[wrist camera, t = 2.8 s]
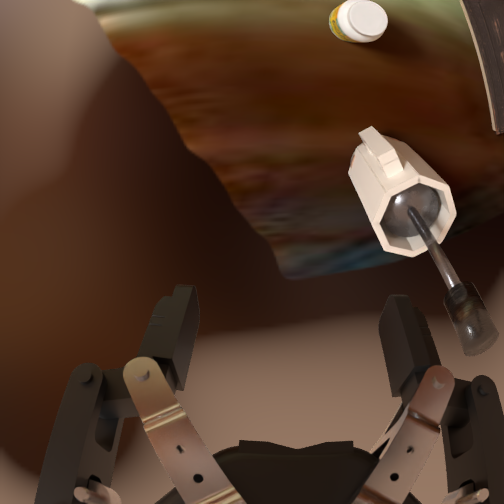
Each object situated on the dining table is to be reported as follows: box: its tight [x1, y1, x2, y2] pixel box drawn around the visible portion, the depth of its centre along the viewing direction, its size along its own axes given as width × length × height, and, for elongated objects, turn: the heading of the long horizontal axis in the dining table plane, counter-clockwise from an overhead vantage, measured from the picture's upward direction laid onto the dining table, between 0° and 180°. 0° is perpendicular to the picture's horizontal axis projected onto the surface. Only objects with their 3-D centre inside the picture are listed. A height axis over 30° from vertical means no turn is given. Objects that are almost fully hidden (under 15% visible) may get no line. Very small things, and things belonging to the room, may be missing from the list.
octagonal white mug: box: [348, 126, 457, 257], centre depth 36 cm, size 10×12×14 cm
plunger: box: [383, 183, 499, 356], centre depth 25 cm, size 7×7×19 cm
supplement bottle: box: [329, 0, 388, 42], centre depth 26 cm, size 5×5×10 cm
